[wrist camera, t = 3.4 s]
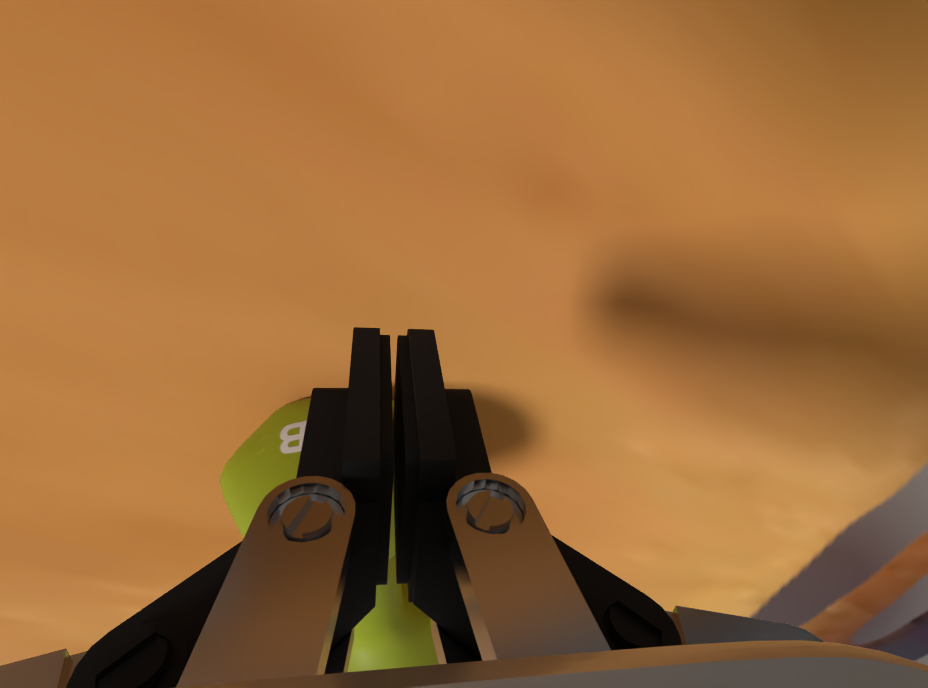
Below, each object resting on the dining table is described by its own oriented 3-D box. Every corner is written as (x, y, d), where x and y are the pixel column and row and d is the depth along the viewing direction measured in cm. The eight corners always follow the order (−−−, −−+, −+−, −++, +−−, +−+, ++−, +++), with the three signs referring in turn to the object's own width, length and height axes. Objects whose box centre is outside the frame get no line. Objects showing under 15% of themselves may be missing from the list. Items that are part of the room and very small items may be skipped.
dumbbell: (453, 588, 31) (474, 727, 25) (317, 612, 30) (305, 762, 24) (426, 363, 22) (449, 497, 16) (231, 390, 21) (178, 542, 15)
